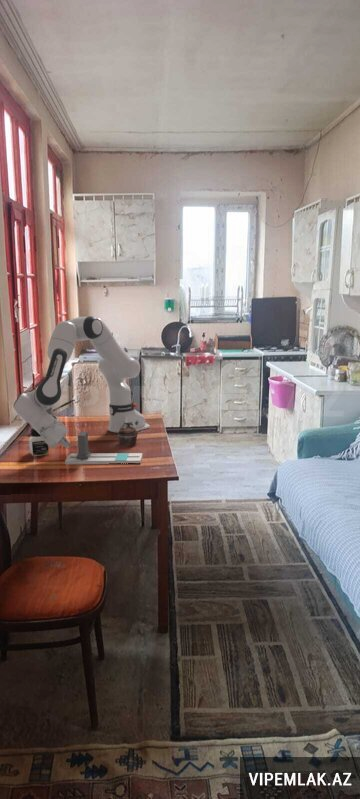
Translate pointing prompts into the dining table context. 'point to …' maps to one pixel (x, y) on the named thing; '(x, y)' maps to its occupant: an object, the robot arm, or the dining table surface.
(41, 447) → the medicine bottle
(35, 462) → the dining table surface
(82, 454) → the fader cap
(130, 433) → the cupcake
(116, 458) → the console track
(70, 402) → the coffee pot
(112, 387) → the robot arm
